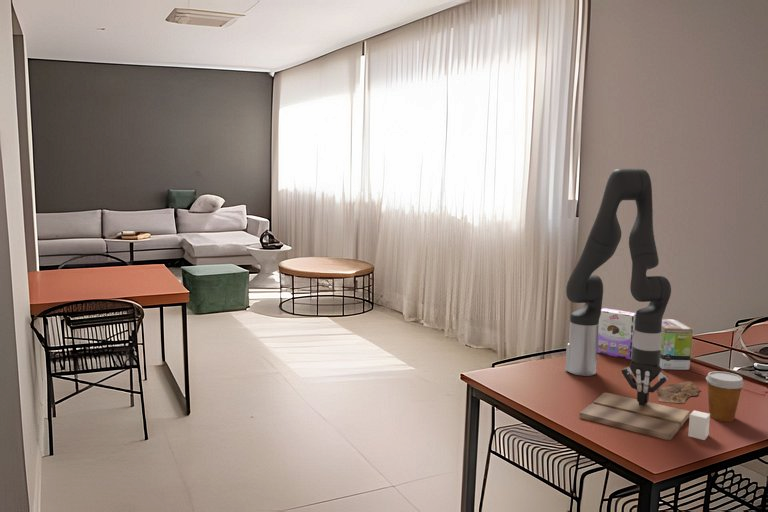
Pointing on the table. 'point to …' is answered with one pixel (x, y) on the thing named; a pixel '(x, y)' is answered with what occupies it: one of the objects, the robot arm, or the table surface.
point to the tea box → (675, 345)
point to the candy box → (616, 333)
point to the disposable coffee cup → (723, 394)
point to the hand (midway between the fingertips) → (642, 404)
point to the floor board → (630, 421)
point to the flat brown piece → (677, 392)
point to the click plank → (643, 408)
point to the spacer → (699, 425)
